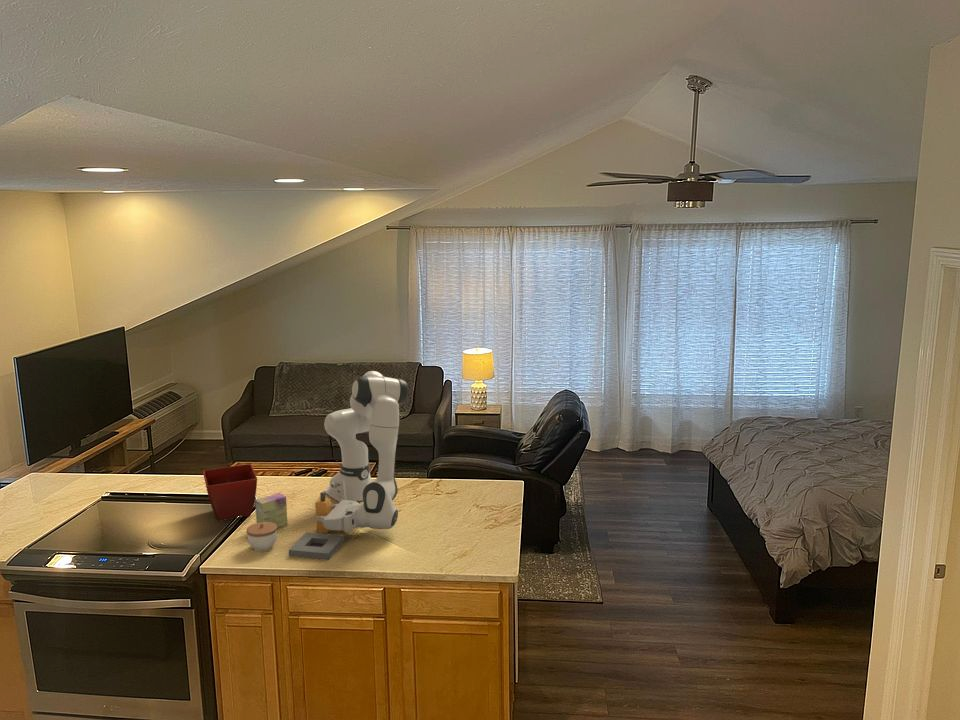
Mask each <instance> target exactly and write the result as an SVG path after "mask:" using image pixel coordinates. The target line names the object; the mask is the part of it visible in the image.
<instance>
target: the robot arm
mask: <svg viewBox="0 0 960 720" xmlns="http://www.w3.org/2000/svg"><path fill="white" fill-rule="evenodd" d="M351 393H352V394H351V395H350V398H349V404H350V408H345V409H340V410H336V411H333V412H331V413H328V414H327V415H326V417H325V418H324V429H325V431H326V433H327V434H328V435H329V436H330V437H332V438H333V439H335V440H336V441H337V442H338V443H337V444H338V445H339V447H340V448H339V449H340V451H341V463H340V464H338V466H337V467H338V468H340V469H339V471H338V472H337V473H336V474H335V475H333V476H332V477H331V478H330V480H329V486H328V487H326V488H325V489H324V490H323V492H325V495H327V496H329V497H331V498H333V499H334V500H336V501H337V502H338V503H335V504H331V512H330V513H329V514H328V515H327V516H324V517H323V516H321V515H317V516H316V515H315V521H316V520H317V521H321V522H323V526H324V528H325V529H329V531H343V533H344V532H345V533H349V532H351V531H353V530H355V529H358V528H360V529H362V528H363V529H365V528H370V529H374V530H389V529H392V528H393V527H394V526H395V524H396V523H397V521H398V516H399V510H398V509H397V508H396V505H395V504H394V502H393V501H394V499H396V497H397V494H398V484H397V482H396V481H397V480H396V477H395V469H396V468H395V467H396V453H397V452H396V449H397V442H398V435H399V427H400V406H401V405H403V404H405V402H407V399H408V397H409V385H408V383H407V382H406V380H403V379H402V378H395V377H394V378H393V377H390V376H389V377H387V376H384V375H383V374H382V373H380V372H379V371H377V370H376V371H375V370H371V371H370V370H369V371H367V372H365V373H364V375H362V376H357V377H356V378H355V379H354V381H353V383H352V387H351ZM366 432H368V438H369V439H368V440H369V443H370V444H371V446H373V448H375V450H376V451H377V453H378V467H377V468H378V471H377V477H376V479H375V480H374V481H372V478H371V473H370V468H371V467H370V462H369V448H368V446H367V444H365V442H364V441H362V440H358V439H357V434H361V433H366ZM360 501H362V503H359V502H360Z"/></svg>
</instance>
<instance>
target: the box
mask: <svg viewBox="0 0 960 720" xmlns="http://www.w3.org/2000/svg"><path fill="white" fill-rule="evenodd" d="M254 505H255V517H256V523H259V522H272V523H275V524H276V525H277V529H278V528H281V527H284V526H288V511H287V510H288V507H287V496H286V495H284V494H282V493H279V492H278V493H274V494H270V495H267V496H264V497H261V498H255V501H254Z"/></svg>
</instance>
